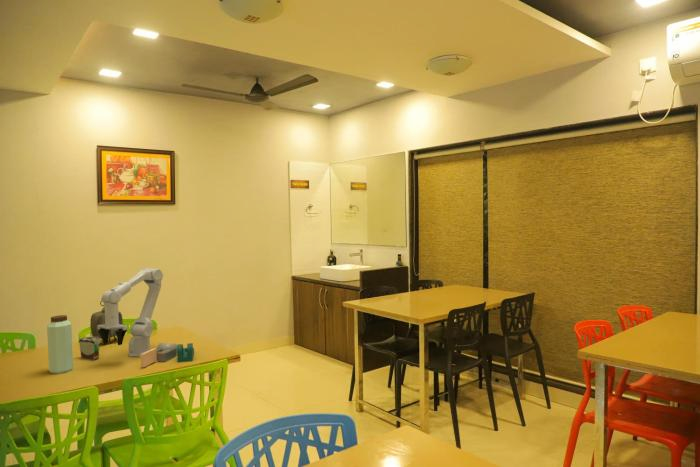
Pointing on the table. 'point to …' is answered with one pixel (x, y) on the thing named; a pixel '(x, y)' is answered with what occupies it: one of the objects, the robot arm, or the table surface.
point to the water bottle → (60, 344)
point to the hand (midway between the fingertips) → (113, 344)
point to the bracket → (185, 353)
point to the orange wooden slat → (148, 357)
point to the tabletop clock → (99, 319)
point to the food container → (89, 348)
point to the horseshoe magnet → (166, 352)
